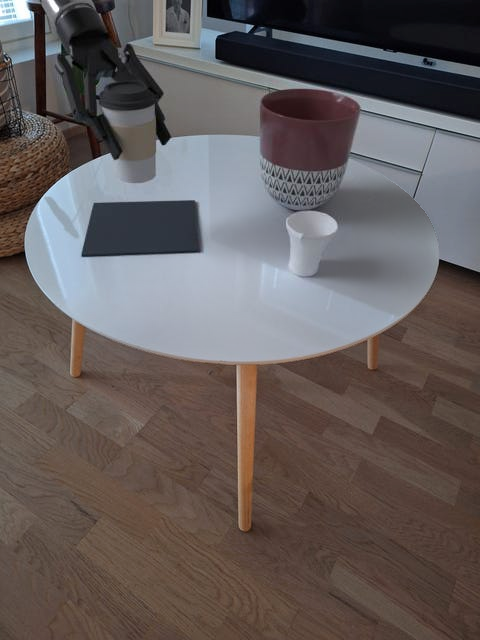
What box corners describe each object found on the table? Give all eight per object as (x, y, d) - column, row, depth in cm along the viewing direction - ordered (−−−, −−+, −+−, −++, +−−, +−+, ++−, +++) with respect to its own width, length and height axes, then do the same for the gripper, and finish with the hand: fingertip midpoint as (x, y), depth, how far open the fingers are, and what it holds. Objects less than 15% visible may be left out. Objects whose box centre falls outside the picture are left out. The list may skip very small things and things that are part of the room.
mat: (81, 256, 86) (81, 254, 86) (94, 204, 101) (93, 202, 100) (199, 252, 89) (199, 250, 88) (195, 202, 103) (194, 200, 103)
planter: (237, 198, 105) (240, 98, 91) (298, 177, 114) (310, 83, 100) (296, 235, 94) (310, 128, 80) (359, 208, 103) (381, 108, 89)
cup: (271, 274, 84) (276, 226, 77) (293, 250, 90) (300, 203, 83) (316, 291, 81) (325, 242, 74) (336, 265, 87) (346, 218, 80)
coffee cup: (137, 191, 78) (125, 97, 68) (99, 176, 82) (83, 85, 72) (172, 172, 84) (166, 83, 74) (135, 160, 88) (125, 73, 78)
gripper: (126, 29, 84) (185, 143, 86) (8, 45, 73) (79, 176, 75) (139, -2, 78) (202, 122, 80) (12, 10, 66) (90, 154, 69)
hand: (143, 148), depth 78 cm, fingers closed on coffee cup, 9 cm apart
